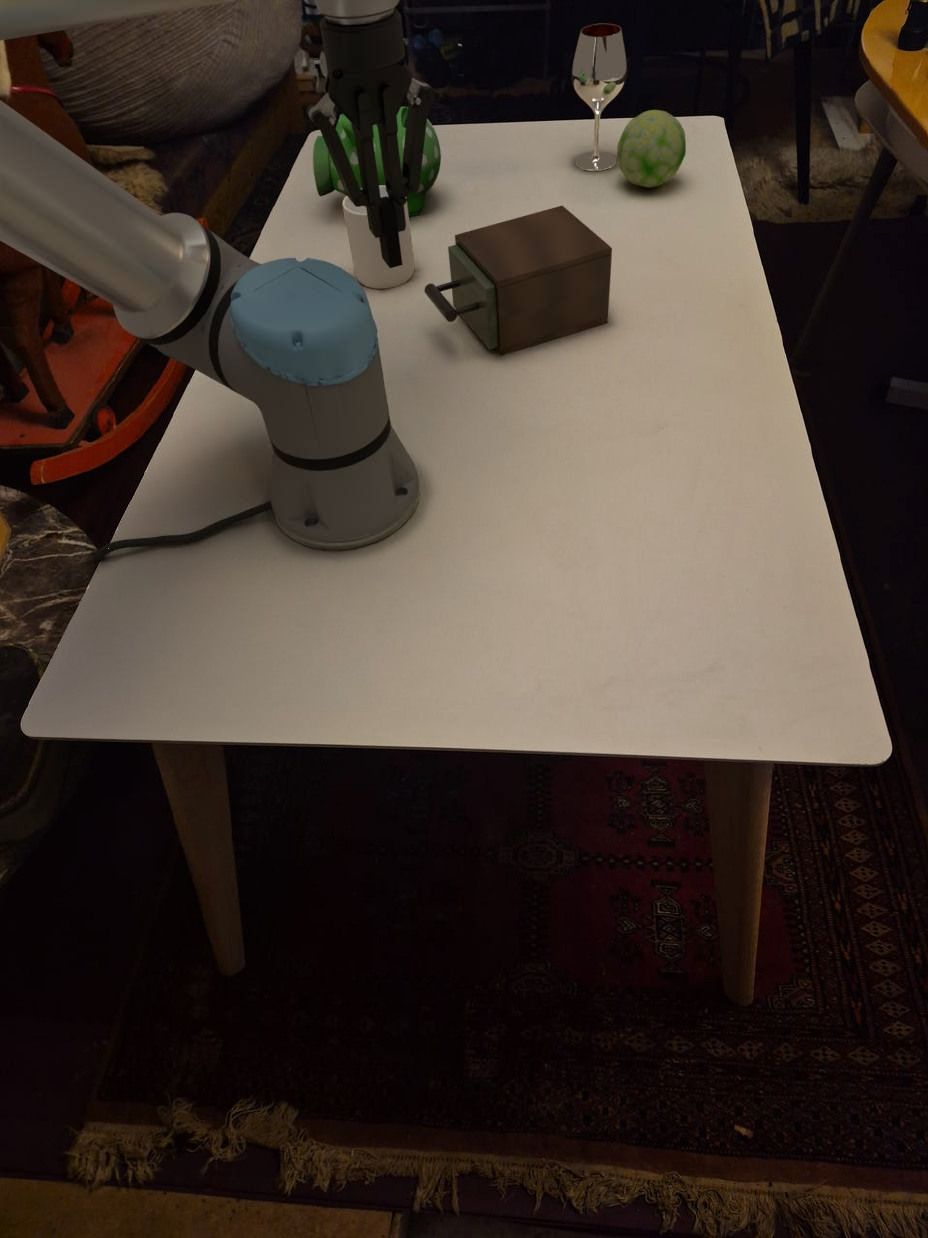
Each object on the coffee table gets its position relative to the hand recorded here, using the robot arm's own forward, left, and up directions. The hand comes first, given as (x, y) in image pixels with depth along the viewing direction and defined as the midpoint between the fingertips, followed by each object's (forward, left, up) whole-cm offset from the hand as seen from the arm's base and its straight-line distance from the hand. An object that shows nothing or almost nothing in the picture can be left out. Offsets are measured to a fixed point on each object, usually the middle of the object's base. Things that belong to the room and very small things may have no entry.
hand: (392, 261), depth 96 cm
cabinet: (+17, 0, -12) cm, 21 cm away
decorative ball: (+48, +24, -12) cm, 55 cm away
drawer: (+13, 0, -11) cm, 17 cm away
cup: (+5, +21, -12) cm, 25 cm away
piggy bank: (+11, +39, -12) cm, 43 cm away
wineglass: (+45, +35, -12) cm, 59 cm away
